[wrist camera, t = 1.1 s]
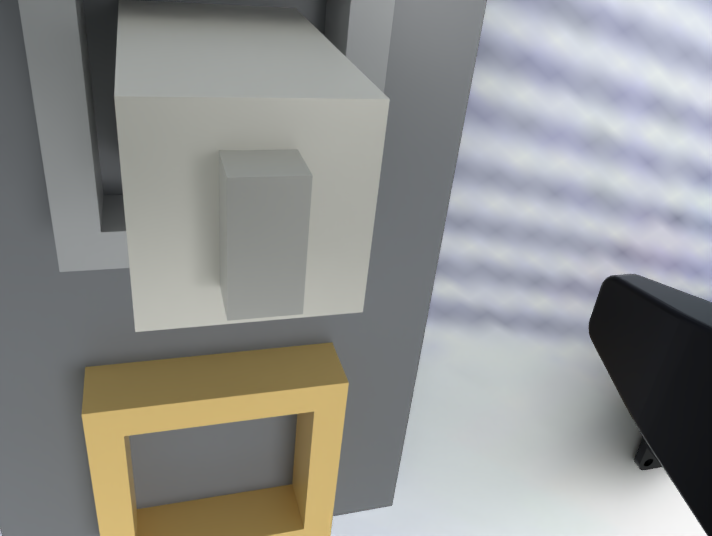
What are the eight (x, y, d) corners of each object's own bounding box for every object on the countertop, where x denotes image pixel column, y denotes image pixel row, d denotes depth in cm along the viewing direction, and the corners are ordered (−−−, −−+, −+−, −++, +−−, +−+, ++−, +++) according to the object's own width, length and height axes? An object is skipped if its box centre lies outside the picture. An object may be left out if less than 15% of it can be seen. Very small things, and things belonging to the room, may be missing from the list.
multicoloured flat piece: (489, -117, 17) (552, -110, 14) (384, 486, 28) (408, 547, 25) (-175, -194, 13) (-247, -203, 10) (16, 548, 24) (3, 628, 21)
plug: (295, 7, 16) (412, 121, 9) (287, 164, 18) (379, 345, 11) (118, -1, 15) (113, 120, 8) (132, 167, 17) (136, 370, 10)
